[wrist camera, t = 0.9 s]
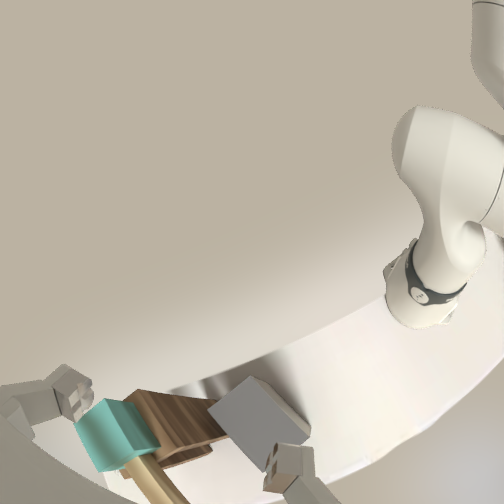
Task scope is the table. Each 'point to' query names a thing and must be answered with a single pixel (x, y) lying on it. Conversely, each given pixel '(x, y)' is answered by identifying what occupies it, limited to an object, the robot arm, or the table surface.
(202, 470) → the table surface
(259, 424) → the gray arch
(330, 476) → the table surface
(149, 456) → the teal-headed mallet
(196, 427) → the walnut arch
